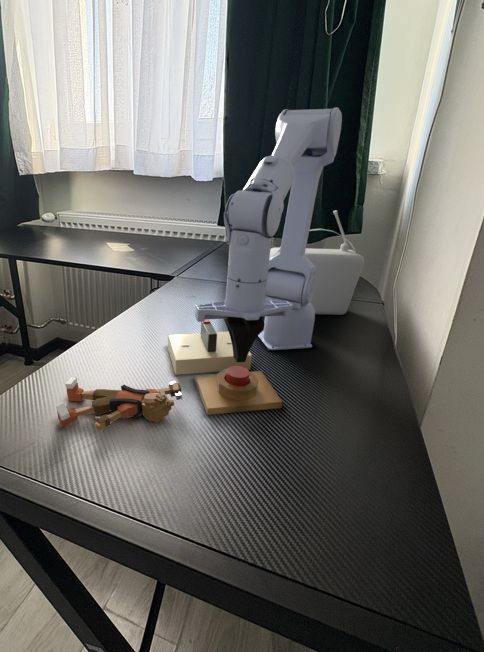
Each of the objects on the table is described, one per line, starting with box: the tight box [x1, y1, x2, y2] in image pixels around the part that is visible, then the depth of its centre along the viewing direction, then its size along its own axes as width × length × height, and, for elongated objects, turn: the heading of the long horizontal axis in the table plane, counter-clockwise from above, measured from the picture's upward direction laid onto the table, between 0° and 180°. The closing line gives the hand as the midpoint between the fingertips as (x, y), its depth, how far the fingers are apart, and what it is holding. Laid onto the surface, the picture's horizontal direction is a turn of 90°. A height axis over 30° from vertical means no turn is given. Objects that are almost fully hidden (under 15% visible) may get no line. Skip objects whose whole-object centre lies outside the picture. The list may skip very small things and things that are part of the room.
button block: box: [194, 369, 283, 416], centre depth 61 cm, size 12×9×3 cm
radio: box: [269, 209, 365, 316], centre depth 92 cm, size 22×8×25 cm, turn 88°
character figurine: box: [56, 376, 183, 432], centre depth 56 cm, size 12×5×18 cm
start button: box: [226, 366, 250, 386], centre depth 61 cm, size 4×4×2 cm
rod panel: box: [167, 330, 253, 376], centre depth 72 cm, size 14×10×3 cm
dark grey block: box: [200, 319, 217, 352], centre depth 71 cm, size 6×2×4 cm, turn 9°
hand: (239, 359), depth 59 cm, fingers closed
